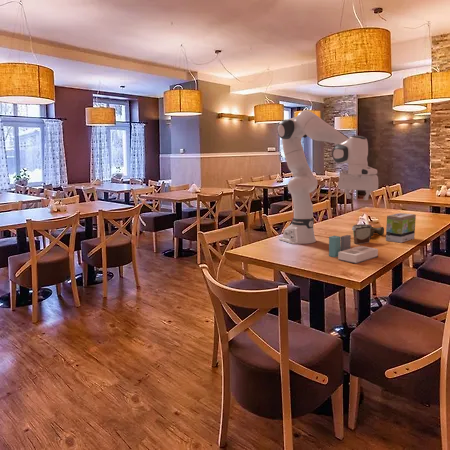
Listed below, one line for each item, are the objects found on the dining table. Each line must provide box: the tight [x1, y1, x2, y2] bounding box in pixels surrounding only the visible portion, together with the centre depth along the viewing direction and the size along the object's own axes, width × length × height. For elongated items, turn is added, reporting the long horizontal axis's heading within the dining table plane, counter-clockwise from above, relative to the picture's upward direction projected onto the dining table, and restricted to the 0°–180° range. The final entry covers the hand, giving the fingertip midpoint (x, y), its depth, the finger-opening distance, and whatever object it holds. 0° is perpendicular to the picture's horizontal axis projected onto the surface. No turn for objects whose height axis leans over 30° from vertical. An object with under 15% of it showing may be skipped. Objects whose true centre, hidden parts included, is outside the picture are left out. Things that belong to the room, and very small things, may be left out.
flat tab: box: [340, 234, 352, 251], centre depth 215 cm, size 2×6×9 cm, turn 128°
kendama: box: [370, 225, 385, 239], centre depth 253 cm, size 6×10×20 cm
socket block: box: [337, 245, 379, 265], centre depth 204 cm, size 10×18×4 cm, turn 128°
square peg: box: [328, 235, 341, 258], centre depth 209 cm, size 4×4×10 cm
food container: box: [351, 223, 372, 245], centre depth 237 cm, size 12×6×10 cm, turn 116°
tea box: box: [385, 212, 417, 244], centre depth 239 cm, size 15×10×15 cm
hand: (357, 199), depth 200 cm, fingers open, 8 cm apart
